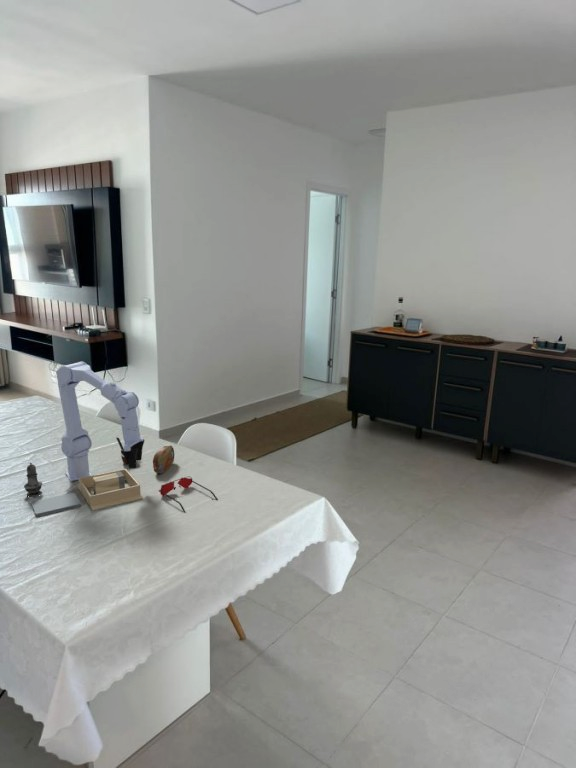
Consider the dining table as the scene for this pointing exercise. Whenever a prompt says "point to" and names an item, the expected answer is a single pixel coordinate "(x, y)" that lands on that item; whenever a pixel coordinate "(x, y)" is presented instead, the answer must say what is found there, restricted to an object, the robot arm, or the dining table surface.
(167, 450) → the tin
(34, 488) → the salt shaker
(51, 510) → the slate board
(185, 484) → the glasses
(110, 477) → the capped box
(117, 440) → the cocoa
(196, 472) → the dining table surface
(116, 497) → the wooden tray
